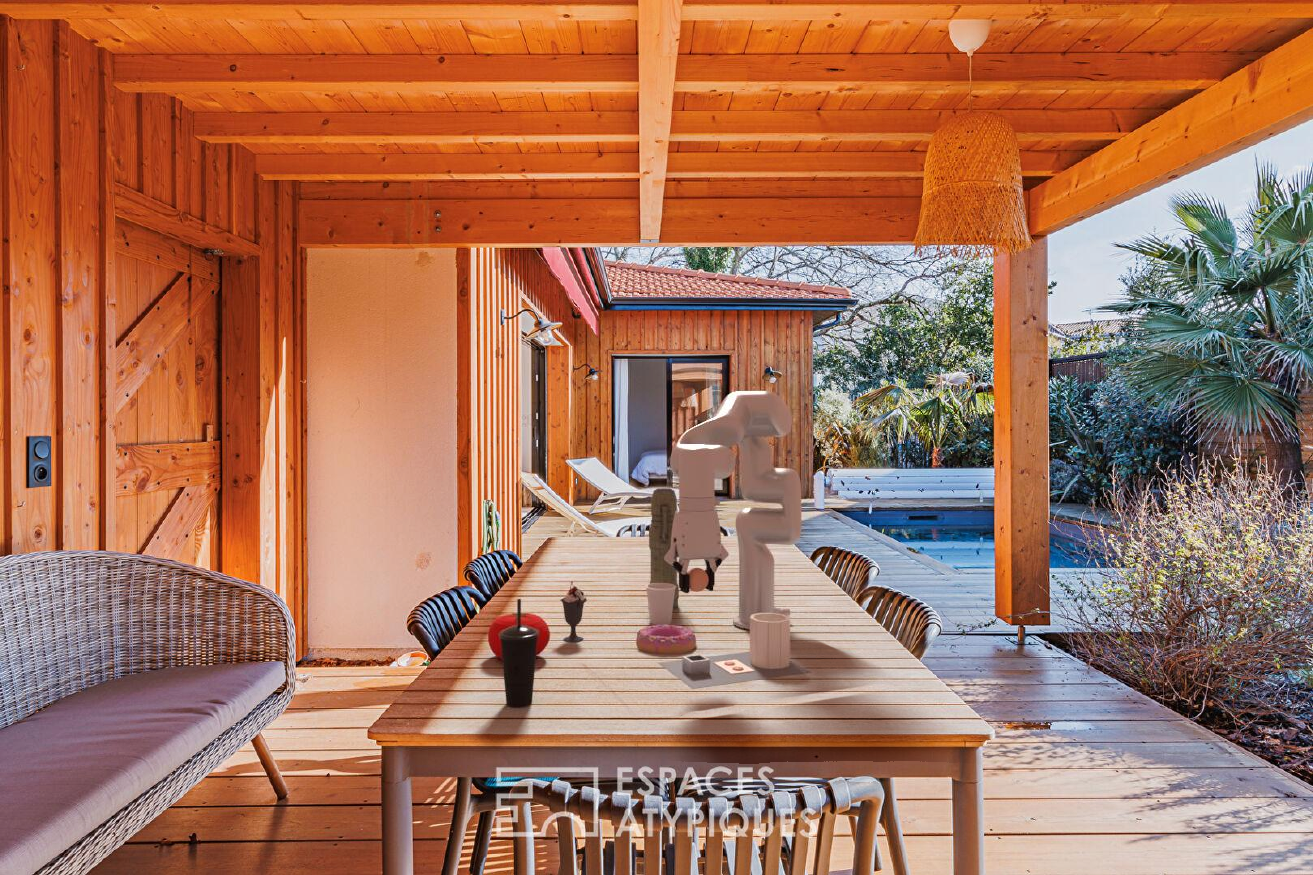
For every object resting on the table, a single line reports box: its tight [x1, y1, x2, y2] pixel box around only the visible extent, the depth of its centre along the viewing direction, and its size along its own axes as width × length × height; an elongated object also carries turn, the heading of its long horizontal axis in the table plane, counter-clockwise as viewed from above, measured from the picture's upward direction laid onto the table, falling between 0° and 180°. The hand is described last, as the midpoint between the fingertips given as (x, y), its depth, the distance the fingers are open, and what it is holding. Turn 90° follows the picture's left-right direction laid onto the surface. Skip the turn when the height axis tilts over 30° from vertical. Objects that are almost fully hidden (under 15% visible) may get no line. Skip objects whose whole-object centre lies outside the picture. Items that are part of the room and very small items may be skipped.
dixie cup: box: [645, 583, 676, 625], centre depth 209 cm, size 8×8×10 cm
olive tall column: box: [648, 487, 680, 610], centre depth 227 cm, size 9×12×35 cm
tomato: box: [487, 612, 551, 660], centre depth 176 cm, size 14×13×10 cm
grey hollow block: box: [681, 653, 710, 676], centre depth 162 cm, size 4×4×3 cm
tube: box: [749, 613, 791, 669], centre depth 169 cm, size 9×9×10 cm
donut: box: [635, 624, 697, 655], centre depth 182 cm, size 14×14×5 cm
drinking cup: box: [499, 598, 539, 709], centre depth 147 cm, size 8×8×20 cm
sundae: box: [559, 581, 588, 643], centre depth 191 cm, size 7×7×15 cm
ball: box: [687, 567, 709, 593], centre depth 162 cm, size 5×5×5 cm
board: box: [658, 651, 812, 690], centre depth 165 cm, size 28×18×2 cm, turn 112°
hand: (696, 589), depth 162 cm, fingers closed on ball, 4 cm apart
